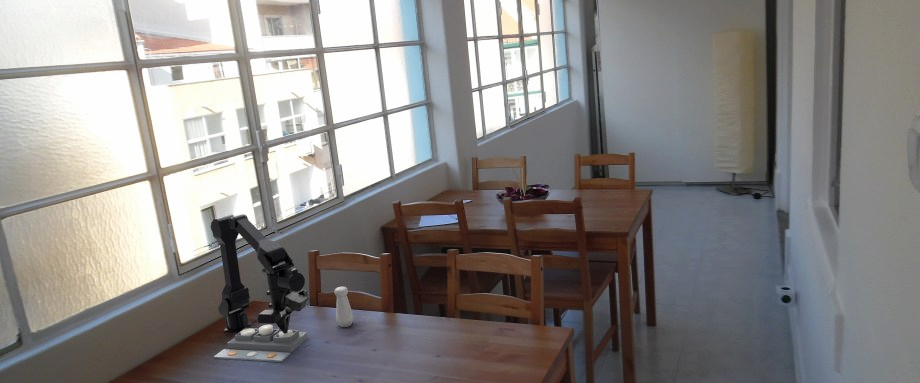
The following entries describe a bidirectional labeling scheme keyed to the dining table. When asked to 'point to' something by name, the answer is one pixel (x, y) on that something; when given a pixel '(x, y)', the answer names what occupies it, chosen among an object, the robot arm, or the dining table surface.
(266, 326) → the button middle
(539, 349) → the dining table surface
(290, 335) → the button right
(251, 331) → the button left
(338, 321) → the salt shaker
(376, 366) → the dining table surface
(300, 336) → the button board
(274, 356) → the pattern card
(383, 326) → the dining table surface
